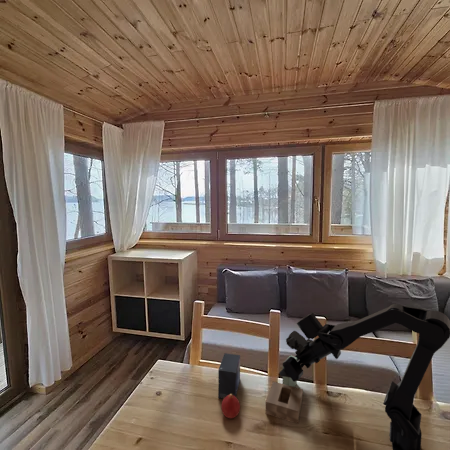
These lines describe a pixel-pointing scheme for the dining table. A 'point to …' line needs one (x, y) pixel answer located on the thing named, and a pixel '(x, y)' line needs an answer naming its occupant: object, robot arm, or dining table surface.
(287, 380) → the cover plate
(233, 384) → the small box
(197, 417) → the dining table surface
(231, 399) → the onion
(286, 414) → the slotted box
